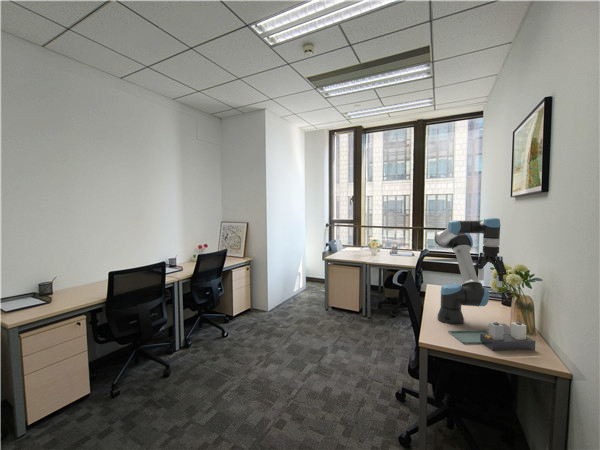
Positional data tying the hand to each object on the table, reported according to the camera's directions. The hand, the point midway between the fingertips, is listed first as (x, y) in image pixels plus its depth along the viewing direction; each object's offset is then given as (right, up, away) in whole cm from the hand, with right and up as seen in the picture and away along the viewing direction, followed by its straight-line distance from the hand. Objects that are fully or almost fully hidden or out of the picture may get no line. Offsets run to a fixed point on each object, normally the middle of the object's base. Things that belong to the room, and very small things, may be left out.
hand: (489, 283), depth 153 cm
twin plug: (-5, -29, -12) cm, 31 cm away
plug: (+7, -29, -11) cm, 31 cm away
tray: (-9, -30, -2) cm, 32 cm away
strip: (+1, -31, -11) cm, 33 cm away
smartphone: (+16, -30, +10) cm, 36 cm away
